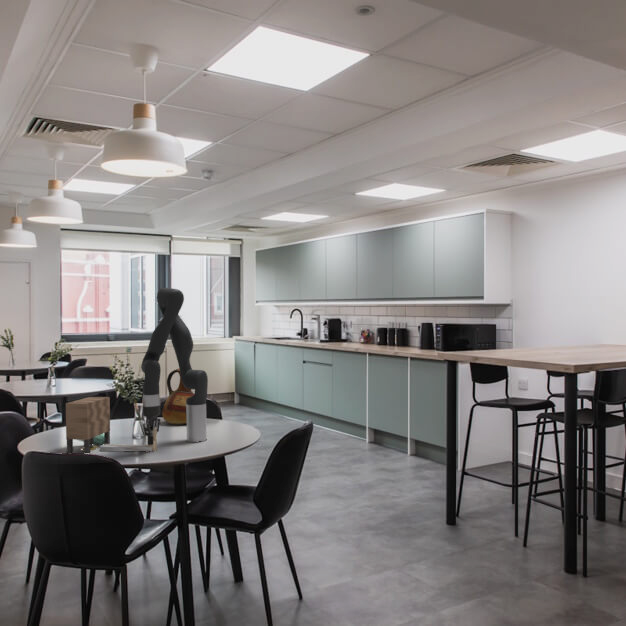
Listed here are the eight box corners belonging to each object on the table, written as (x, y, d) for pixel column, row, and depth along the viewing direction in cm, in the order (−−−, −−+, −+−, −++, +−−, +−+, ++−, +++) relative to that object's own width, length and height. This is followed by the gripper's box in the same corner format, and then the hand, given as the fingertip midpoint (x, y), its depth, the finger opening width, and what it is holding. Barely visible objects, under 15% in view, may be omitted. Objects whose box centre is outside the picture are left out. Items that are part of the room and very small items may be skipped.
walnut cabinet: (90, 444, 288) (89, 396, 288) (110, 444, 287) (109, 397, 286) (66, 454, 268) (65, 403, 268) (88, 454, 267) (87, 403, 267)
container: (108, 431, 288) (84, 424, 306) (97, 438, 284) (74, 430, 302) (112, 442, 290) (89, 434, 308) (101, 449, 286) (78, 440, 304)
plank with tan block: (105, 448, 279) (104, 426, 279) (157, 449, 275) (157, 426, 275) (99, 450, 274) (99, 428, 274) (153, 452, 270) (152, 429, 270)
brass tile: (87, 449, 280) (87, 445, 280) (97, 449, 279) (97, 446, 279) (80, 451, 276) (80, 448, 276) (90, 452, 274) (90, 448, 274)
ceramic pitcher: (194, 426, 329) (193, 370, 329) (157, 426, 331) (156, 370, 331) (203, 420, 349) (203, 366, 349) (168, 420, 350) (167, 367, 350)
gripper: (153, 407, 265) (153, 447, 265) (165, 402, 279) (166, 440, 279) (136, 407, 266) (137, 447, 266) (149, 402, 280) (150, 440, 280)
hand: (152, 443), depth 273 cm, fingers closed on plank with tan block, 3 cm apart
